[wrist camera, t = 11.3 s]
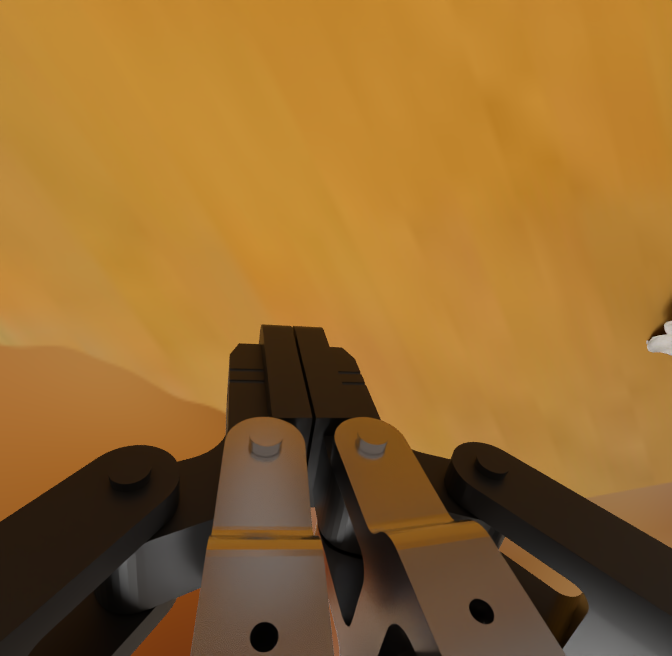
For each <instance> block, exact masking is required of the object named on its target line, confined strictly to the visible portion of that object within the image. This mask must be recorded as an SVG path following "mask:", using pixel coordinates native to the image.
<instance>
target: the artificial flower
mask: <svg viewBox="0 0 672 656" xmlns="http://www.w3.org/2000/svg"><path fill="white" fill-rule="evenodd" d="M664 328H665V331H666V333H667V334H666V335H658V336H654V337H652V339H650V341H649V342H648V340H647V343H648V345H647V348H648V351H651V352H662V353H667V354H669V355H672V321H669V322H666V323H665V324H664ZM647 343H646V344H647Z"/></svg>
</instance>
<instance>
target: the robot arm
mask: <svg viewBox="0 0 672 656" xmlns="http://www.w3.org/2000/svg"><path fill="white" fill-rule="evenodd" d="M310 507H315V510H316V515H317V524H316V528H315V533H314V536H313V532H312V521H311V508H310ZM505 537H507V538H508V539H510V540H511V541H513V542H514V543H515V544H517V545H518V546H520V547H521V548H523V549H524V550H526V551H527V552H529V553H530V554H532V555H533V556H535V557H536V558H537V559H539V560H540V561H542V562H543V563H545V564H546V565H548V566H549V567H550V568H552V569H553V570H555V571H556V572H558V573H559V574H561V575H562V576H564V577H565V578H567V579H568V580H569V581H571V582H572V583H574V584H575V585H576V586H577V587H578V588H579V589H580V590H581V591H582V592H583V593H582V594H581V595H579V596H576V597H569V596H565V595H562V594H560V593H558V592H557V591H555V590H554V589H552V588H551V587H550V586H548V585H547V584H545V583H544V582H542V581H541V580H540V579H538V578H537V577H535V576H534V575H533V574H531V573H530V572H528V571H527V570H526V569H524V568H523V567H521V566H520V565H519V564H517V563H516V562H514V561H513V560H511V559H510V558H509V557H507V556H506V555H504V554H503V553H501V552H500V551H499V548H500V546H501V544H502V542H503V540H504V538H505ZM199 588H201V589H200V596H199V603H198V609H197V617H196V622H195V629H194V636H193V642H192V650H191V656H334V651H333V641H332V631H331V622H330V612H329V604H330V608H331V612H332V615H333V619H334V623H335V627H336V631H337V636H338V642H339V652H340V656H672V548H670V547H668V546H667V545H665V544H663V543H662V542H660V541H658V540H656V539H655V538H653V537H651V536H649V535H648V534H646V533H644V532H643V531H641V530H639V529H637V528H636V527H634V526H632V525H631V524H629V523H627V522H625V521H624V520H622V519H620V518H618V517H617V516H615V515H613V514H612V513H610V512H608V511H606V510H605V509H603V508H601V507H600V506H597V505H596V504H594V503H593V502H591V501H589V500H587V499H586V498H584V497H582V496H581V495H579V494H577V493H575V492H574V491H572V490H570V489H568V488H567V487H565V486H563V485H562V484H560V483H558V482H556V481H555V480H553V479H551V478H550V477H548V476H546V475H544V474H543V473H541V472H539V471H537V470H536V469H534V468H532V467H531V466H529V465H527V464H525V463H524V462H522V461H520V460H519V459H517V458H515V457H513V456H512V455H510V454H508V453H506V452H505V451H503V450H501V449H499V448H497V447H494V446H492V445H489V444H485V443H480V442H468V443H463V444H461V445H459V446H458V447H456V449H455V450H454V452H453V455H452V457H451V459H446V458H442V457H438V456H433V455H429V454H425V453H421V452H417V451H415V450H412V449H411V448H410V446H409V444H408V443H407V441H406V439H405V438H404V436H403V435H402V434H401V433H400V432H399V431H398V430H397V429H396V428H395V427H393V426H392V425H390V424H388V423H386V422H384V421H381V419H380V417H379V414H378V412H377V410H376V407H375V405H374V403H373V400H372V398H371V396H370V393H369V391H368V389H367V386H366V385H365V382H364V379H363V377H362V375H361V374H360V370H359V368H358V365H357V363H356V361H355V359H354V358H353V357H352V356H351V355H350V354H349V353H348V352H346V351H345V350H344V349H343V348H339V347H329V344H328V341H327V338H326V336H325V333H324V330H323V328H321V327H302V326H293V327H291V326H281V325H261V329H260V339H259V344H240V343H239V344H238V345H237V347H236V348H235V349H234V350H233V351H232V353H231V354H230V360H229V376H228V392H227V411H226V435H225V437H224V439H223V440H222V441H221V442H220V443H219V444H218V445H217V446H216V447H215V448H214V449H212V450H210V451H209V452H207V453H205V454H202V455H200V456H197V457H194V458H190V459H186V460H183V461H179V462H177V461H176V460H175V458H174V457H173V456H172V455H171V454H169V453H168V452H166V451H165V450H162V449H160V448H157V447H153V446H147V445H134V446H127V447H122V448H118V449H115V450H112V451H110V452H108V453H105V454H104V455H102V456H100V457H98V458H97V459H95V460H94V461H92V462H91V463H89V464H88V465H86V466H85V467H83V468H82V469H80V470H79V471H77V472H76V473H74V474H73V475H71V476H69V477H68V478H66V479H65V480H63V481H62V482H60V483H59V484H58V485H56V486H54V487H53V488H51V489H50V490H48V491H47V492H45V493H43V494H42V495H40V496H39V497H38V498H36V499H35V500H33V501H31V502H30V503H28V504H27V505H25V506H24V507H22V508H21V509H19V510H18V511H16V512H15V513H13V514H12V515H10V516H8V517H7V518H6V519H4V520H2V521H1V522H0V656H130V655H131V654H132V653H133V652H134V651H135V649H137V647H138V646H139V645H140V644H141V643H142V642H143V641H144V639H145V638H146V637H147V636H148V635H149V634H150V633H151V631H152V630H153V629H154V628H155V627H156V626H157V624H158V623H159V622H160V621H161V620H162V619H163V617H164V616H165V615H166V614H167V613H168V612H169V610H170V609H171V608H172V606H173V604H174V603H175V601H176V598H177V597H180V596H182V595H184V594H187V593H189V592H192V591H194V590H196V589H199ZM328 600H329V602H328Z"/></svg>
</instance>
